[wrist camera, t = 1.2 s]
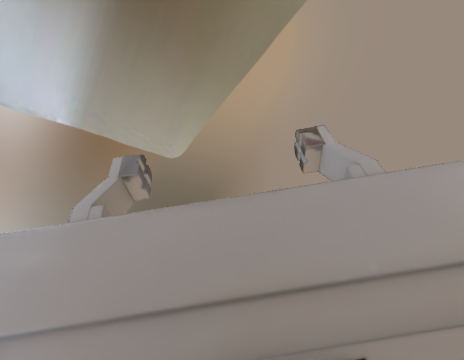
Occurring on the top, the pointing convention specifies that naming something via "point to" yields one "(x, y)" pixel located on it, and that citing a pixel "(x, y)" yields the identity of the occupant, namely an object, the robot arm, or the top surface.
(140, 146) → the top surface
